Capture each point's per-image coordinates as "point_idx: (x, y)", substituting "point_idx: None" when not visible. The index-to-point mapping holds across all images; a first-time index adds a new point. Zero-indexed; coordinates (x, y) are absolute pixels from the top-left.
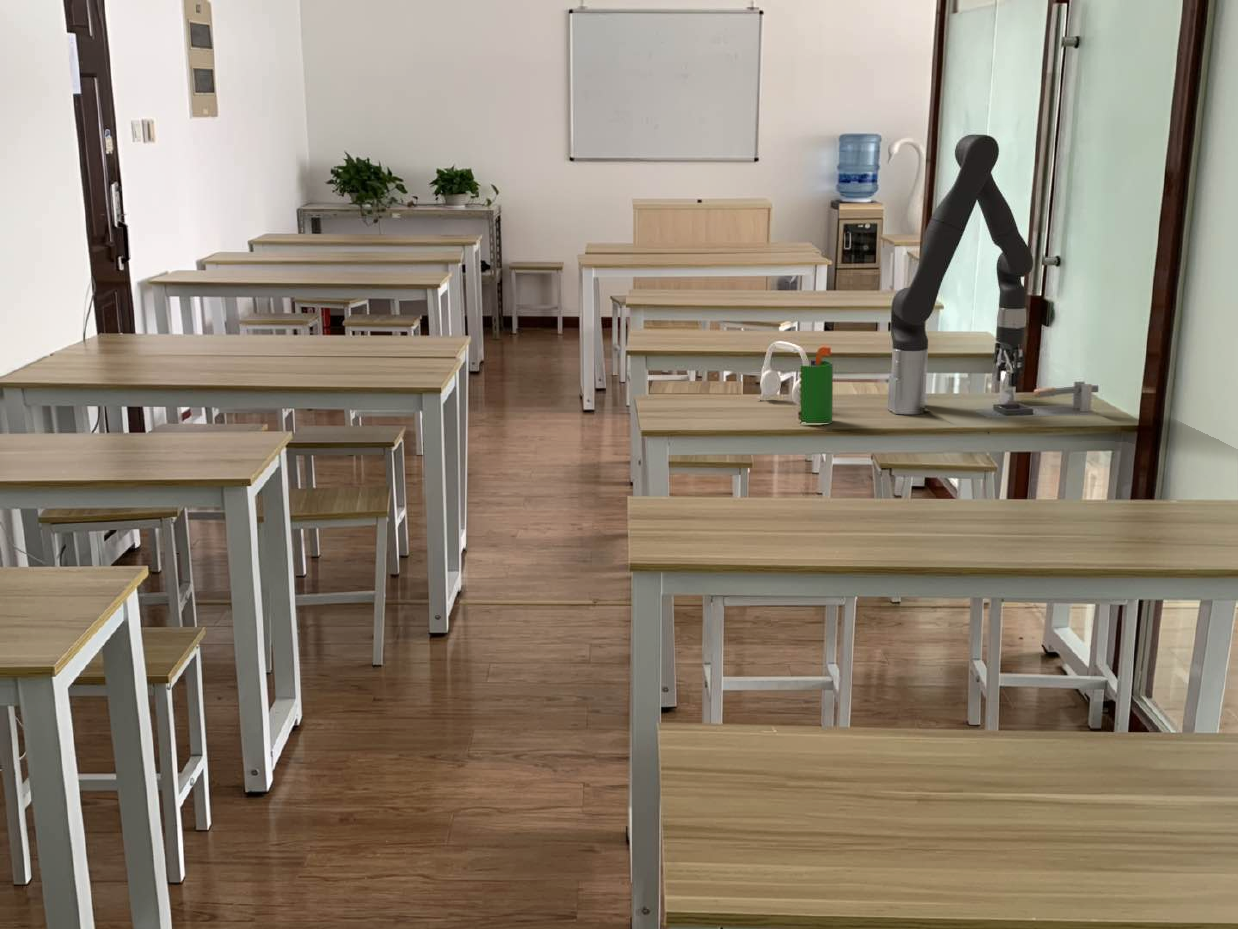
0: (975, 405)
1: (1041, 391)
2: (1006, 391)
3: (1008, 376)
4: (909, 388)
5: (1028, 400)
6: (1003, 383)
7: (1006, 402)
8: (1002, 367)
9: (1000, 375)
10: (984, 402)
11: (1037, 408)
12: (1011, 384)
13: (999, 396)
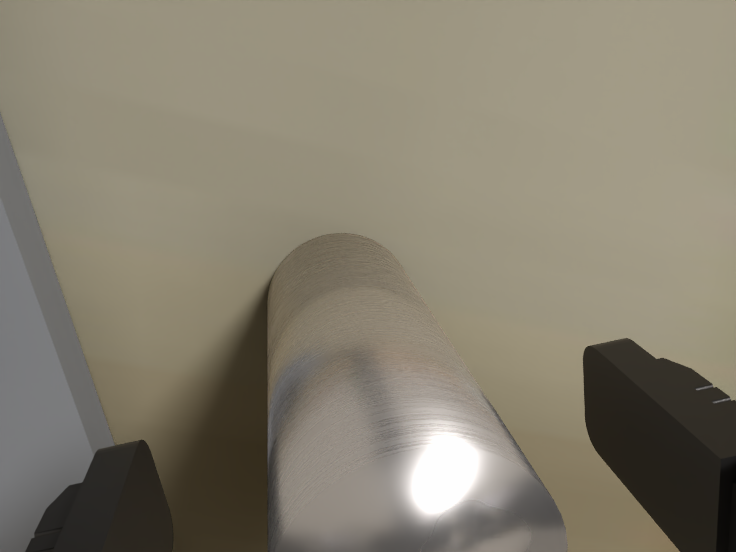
0: (463, 10)
1: None
2: (271, 361)
3: (268, 512)
4: None
5: (613, 522)
6: (306, 374)
7: (269, 312)
8: (732, 534)
9: (436, 399)
10: (599, 149)
11: (12, 542)
12: (90, 466)
13: (353, 268)
